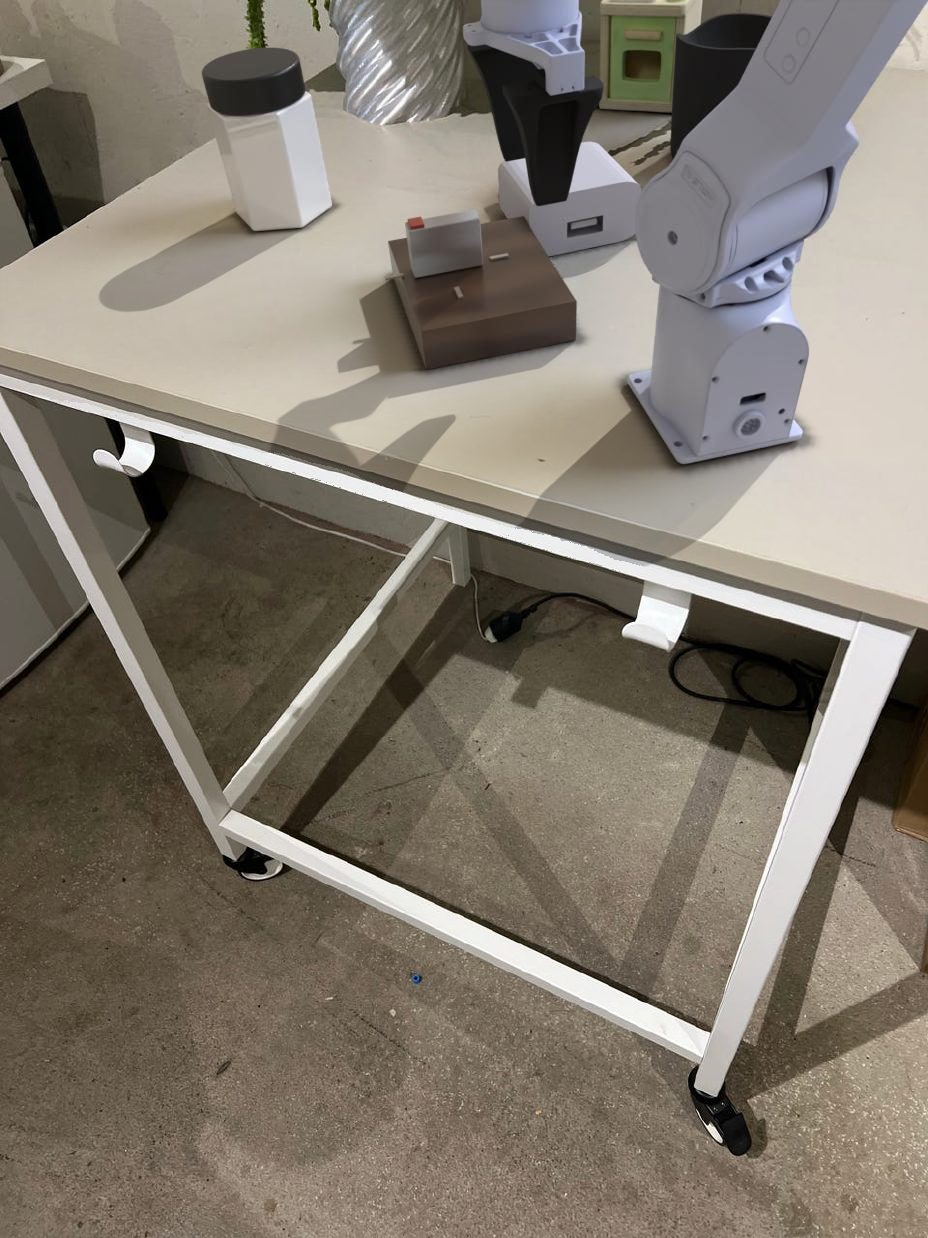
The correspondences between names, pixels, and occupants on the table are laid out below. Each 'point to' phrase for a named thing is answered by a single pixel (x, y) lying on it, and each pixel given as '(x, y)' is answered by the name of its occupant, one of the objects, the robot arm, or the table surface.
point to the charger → (575, 203)
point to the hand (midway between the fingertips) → (533, 178)
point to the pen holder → (710, 67)
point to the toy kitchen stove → (642, 51)
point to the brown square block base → (487, 299)
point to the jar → (267, 137)
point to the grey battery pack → (444, 243)
